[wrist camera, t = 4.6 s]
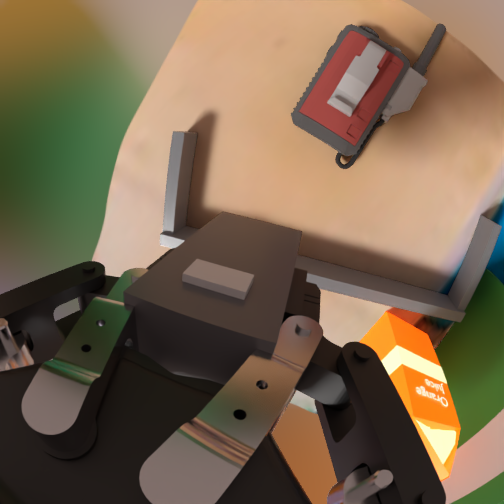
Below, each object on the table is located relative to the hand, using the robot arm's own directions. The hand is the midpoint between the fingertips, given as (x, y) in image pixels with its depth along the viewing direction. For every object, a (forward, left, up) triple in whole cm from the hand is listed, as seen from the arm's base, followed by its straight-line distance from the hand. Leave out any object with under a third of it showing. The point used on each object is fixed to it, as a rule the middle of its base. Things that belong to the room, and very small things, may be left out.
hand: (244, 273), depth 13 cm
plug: (0, 0, -2) cm, 2 cm away
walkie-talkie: (-6, -15, -16) cm, 22 cm away
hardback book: (-28, +10, -15) cm, 34 cm away
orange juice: (-17, +14, -15) cm, 27 cm away
